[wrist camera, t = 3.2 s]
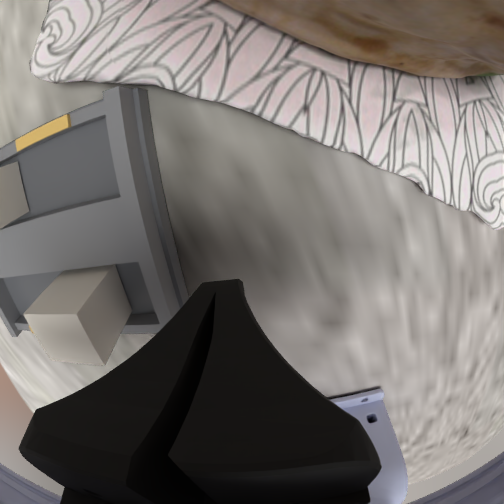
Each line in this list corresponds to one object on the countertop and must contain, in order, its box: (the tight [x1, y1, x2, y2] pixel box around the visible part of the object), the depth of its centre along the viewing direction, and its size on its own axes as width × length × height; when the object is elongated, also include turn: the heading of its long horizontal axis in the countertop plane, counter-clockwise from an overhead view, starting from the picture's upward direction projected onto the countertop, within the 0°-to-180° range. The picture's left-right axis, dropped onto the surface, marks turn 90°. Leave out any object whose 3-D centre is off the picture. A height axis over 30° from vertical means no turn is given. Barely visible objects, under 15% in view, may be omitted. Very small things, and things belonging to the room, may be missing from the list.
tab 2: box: [23, 264, 132, 366], centre depth 10 cm, size 3×2×4 cm
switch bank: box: [0, 86, 189, 337], centre depth 10 cm, size 12×10×2 cm
